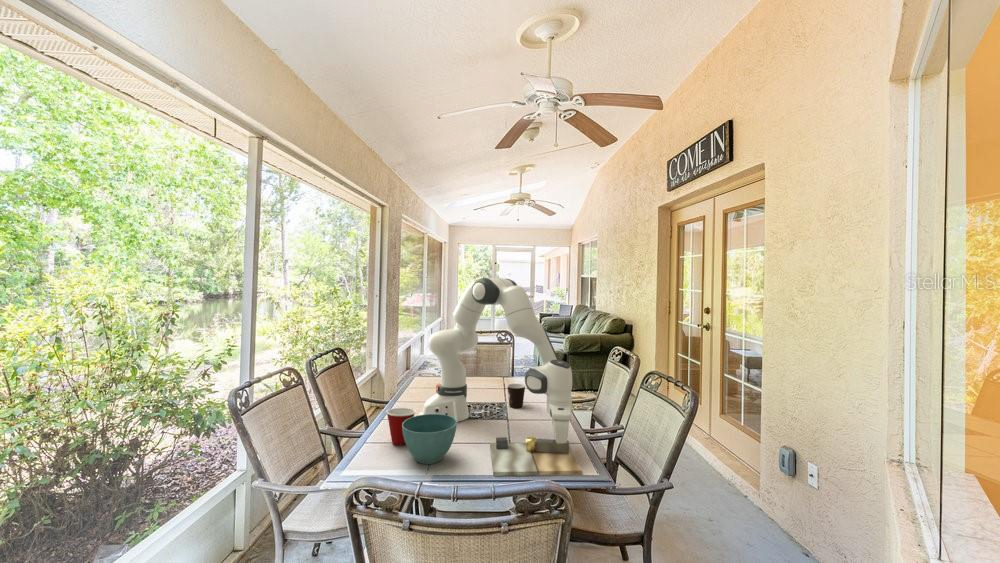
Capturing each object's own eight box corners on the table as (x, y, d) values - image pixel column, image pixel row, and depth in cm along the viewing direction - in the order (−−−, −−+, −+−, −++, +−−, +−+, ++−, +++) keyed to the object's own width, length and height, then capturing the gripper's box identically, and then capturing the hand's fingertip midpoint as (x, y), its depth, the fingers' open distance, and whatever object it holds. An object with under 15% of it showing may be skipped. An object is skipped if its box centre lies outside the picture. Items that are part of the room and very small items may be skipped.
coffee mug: (523, 410, 188) (523, 388, 188) (505, 408, 190) (505, 387, 190) (526, 402, 200) (527, 382, 200) (509, 401, 201) (510, 381, 201)
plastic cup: (421, 440, 151) (421, 408, 151) (402, 450, 141) (403, 416, 142) (398, 434, 156) (399, 404, 156) (379, 444, 146) (379, 412, 146)
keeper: (496, 449, 141) (496, 440, 141) (495, 445, 144) (496, 437, 144) (507, 449, 141) (507, 440, 141) (507, 445, 144) (507, 437, 144)
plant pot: (407, 475, 124) (407, 435, 124) (397, 452, 140) (398, 417, 140) (463, 465, 131) (463, 428, 131) (447, 444, 148) (448, 411, 148)
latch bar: (525, 452, 138) (525, 440, 138) (525, 447, 142) (526, 436, 142) (569, 453, 137) (569, 442, 137) (568, 449, 141) (568, 438, 141)
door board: (493, 475, 124) (493, 471, 124) (490, 446, 146) (490, 443, 146) (582, 474, 126) (582, 470, 126) (565, 445, 148) (565, 442, 148)
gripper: (548, 397, 153) (547, 434, 153) (552, 416, 132) (551, 458, 132) (565, 398, 152) (564, 434, 152) (571, 417, 132) (570, 458, 132)
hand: (558, 445), depth 142 cm, fingers closed
